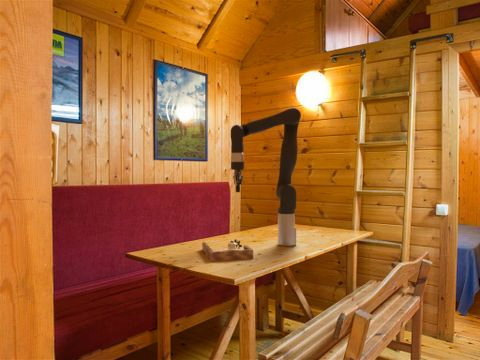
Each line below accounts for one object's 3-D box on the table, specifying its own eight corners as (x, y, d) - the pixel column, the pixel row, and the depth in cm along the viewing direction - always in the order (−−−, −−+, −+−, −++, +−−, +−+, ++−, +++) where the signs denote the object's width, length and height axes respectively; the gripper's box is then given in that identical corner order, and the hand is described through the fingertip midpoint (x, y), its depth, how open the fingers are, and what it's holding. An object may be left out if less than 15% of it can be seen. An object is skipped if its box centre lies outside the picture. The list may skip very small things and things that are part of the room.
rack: (239, 247, 197) (239, 239, 197) (253, 258, 172) (253, 248, 172) (202, 249, 192) (202, 241, 192) (210, 261, 167) (210, 251, 167)
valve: (237, 257, 174) (242, 252, 186) (237, 243, 174) (242, 239, 186) (224, 257, 176) (229, 251, 187) (224, 243, 175) (229, 238, 187)
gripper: (247, 160, 202) (247, 192, 202) (241, 161, 214) (241, 191, 215) (233, 160, 200) (234, 193, 200) (228, 161, 213) (228, 191, 213)
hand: (237, 192), depth 207 cm, fingers closed
